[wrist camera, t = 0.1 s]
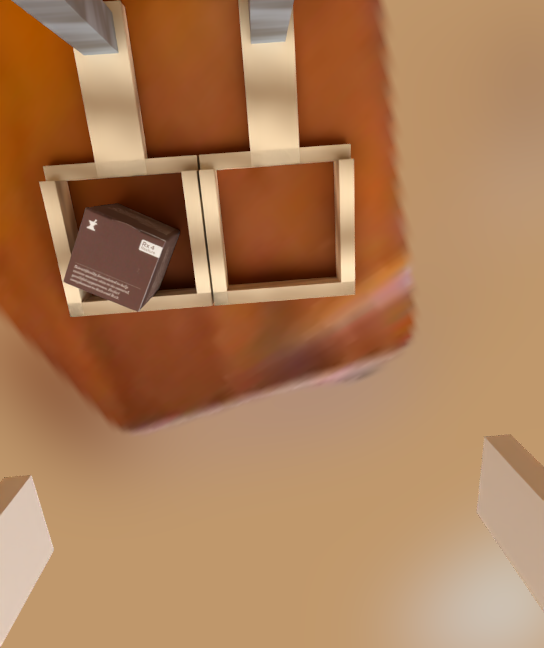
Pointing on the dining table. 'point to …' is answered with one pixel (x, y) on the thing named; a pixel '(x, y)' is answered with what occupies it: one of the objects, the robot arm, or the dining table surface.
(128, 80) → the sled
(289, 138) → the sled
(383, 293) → the dining table surface
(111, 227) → the box
